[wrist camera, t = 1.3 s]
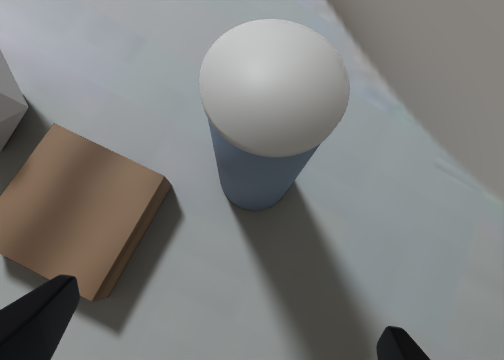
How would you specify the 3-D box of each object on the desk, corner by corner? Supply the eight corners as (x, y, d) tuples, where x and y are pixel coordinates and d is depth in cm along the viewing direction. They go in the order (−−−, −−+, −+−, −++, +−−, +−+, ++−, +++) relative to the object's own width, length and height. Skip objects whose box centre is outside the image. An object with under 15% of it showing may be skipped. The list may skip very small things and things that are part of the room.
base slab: (171, 185, 23) (164, 176, 21) (107, 296, 21) (91, 301, 18) (72, 137, 24) (54, 123, 21) (-1, 240, 21) (-31, 237, 19)
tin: (301, 161, 24) (369, 53, 12) (272, 224, 23) (316, 177, 10) (238, 132, 25) (240, -2, 12) (206, 192, 23) (171, 110, 11)
